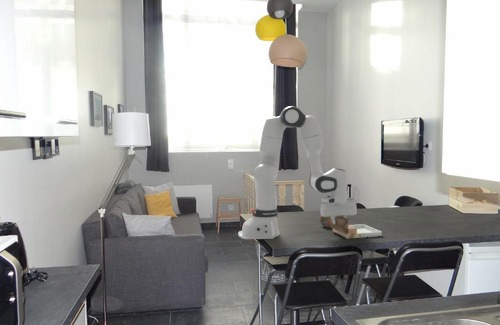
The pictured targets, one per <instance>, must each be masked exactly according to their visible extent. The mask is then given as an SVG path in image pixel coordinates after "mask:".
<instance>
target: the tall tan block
mask: <svg viewBox="0 0 500 325" xmlns="http://www.w3.org/2000/svg"><path fill="white" fill-rule="evenodd" d="M334 219H335V220H336V221H337V224H333V220H332V218H331V216H330V227H329V228H332V229H333V228H334V229H336V230H338V231H340V232H342V233H348V225H349V219H348V218H347V217H346V218H344V217H341V216H335V218H334Z"/></svg>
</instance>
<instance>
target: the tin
mask: <svg viewBox="0 0 500 325" xmlns="http://www.w3.org/2000/svg"><path fill="white" fill-rule="evenodd" d="M341 217H342V216H341ZM319 218H320V219H319V221H320V222H319V223H320V224H321V225H322V226H323V227H325V228H331V227H330V216H329V217H323V216H322V215H320V217H319Z"/></svg>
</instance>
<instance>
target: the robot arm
mask: <svg viewBox="0 0 500 325" xmlns="http://www.w3.org/2000/svg"><path fill="white" fill-rule="evenodd" d="M287 128H296V129H298V131H299V134H300V137H301V143H302V145H303V148H304V151H305V154H306V157H307V161H308V167H309V171H310V175H309V186H310V188H312V190H313V191H317V192H318V193H321V194H326V193H329V194H328V195H325V196H323V197H322V198H321V201H322V203H321V204H320V209H319V210H320V216H323V217H329V216H331V218H332V220H333V224H337V221H336V220H335V219H334V218H335V216H342V217H344V218H346V219H347V216H355V215H357V213H358V208H357V199H356V198H355V197H348V189H347V187H348V174H347V170H345V169H342V168H338V167H337V168H336V167H333V168H331V170H328V171H327V172H325V173H323V172H324V171H323V169H322V164H321V160H320V156H321V155H320V154H321V151H322V150H323V148H324V137H323V132H322V128H321V125H320V123H319V120H318V119H317V117H316V116H314V115H310V114H309V115H305V114H304V113H303V111H302V110H301V109H300V108H298V106H295V105H294V106H293V105H291V106H290V105H289V106H286V107H285V108H283V110H282V111H281V113H280V114H279V116H270V117H268V118H266V120H265V122H264V125H263V129H262V132H261V133H262V134H261V137H260V138H261V139H260V146H259V164H258V165H257V166H256V167H255V168H254V171H253V182H254V188H255V195H256V196H255V201H256V203H255V206H256V207H255V208H251V209H250V210H249V211H250V213H252V215H251V217H250V218H248V219H247V220H245V221H244V222H243V224H242V229H241V230H239V231H238V232H237V235H238V237H239V238H240V239H243V240H270V239H271V240H273V239H274V238H277V237H279V236H280V230H279V225H278V217H279V216H278V215H279V214H278V213H279V211H278V208H277V207H278V206H277V204H278V203H277V198H278V197H277V189H276V179H277V177H278V175H279V169H280V156H281V154H280V153H281V149H282V143H283V135H284V133H285V132H284V131H285V130H286V129H287Z"/></svg>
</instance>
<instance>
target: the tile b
mask: <svg viewBox="0 0 500 325" xmlns="http://www.w3.org/2000/svg"><path fill="white" fill-rule="evenodd" d="M353 233H357V228H355V227H352V226H349V227H348V234H353Z"/></svg>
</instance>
